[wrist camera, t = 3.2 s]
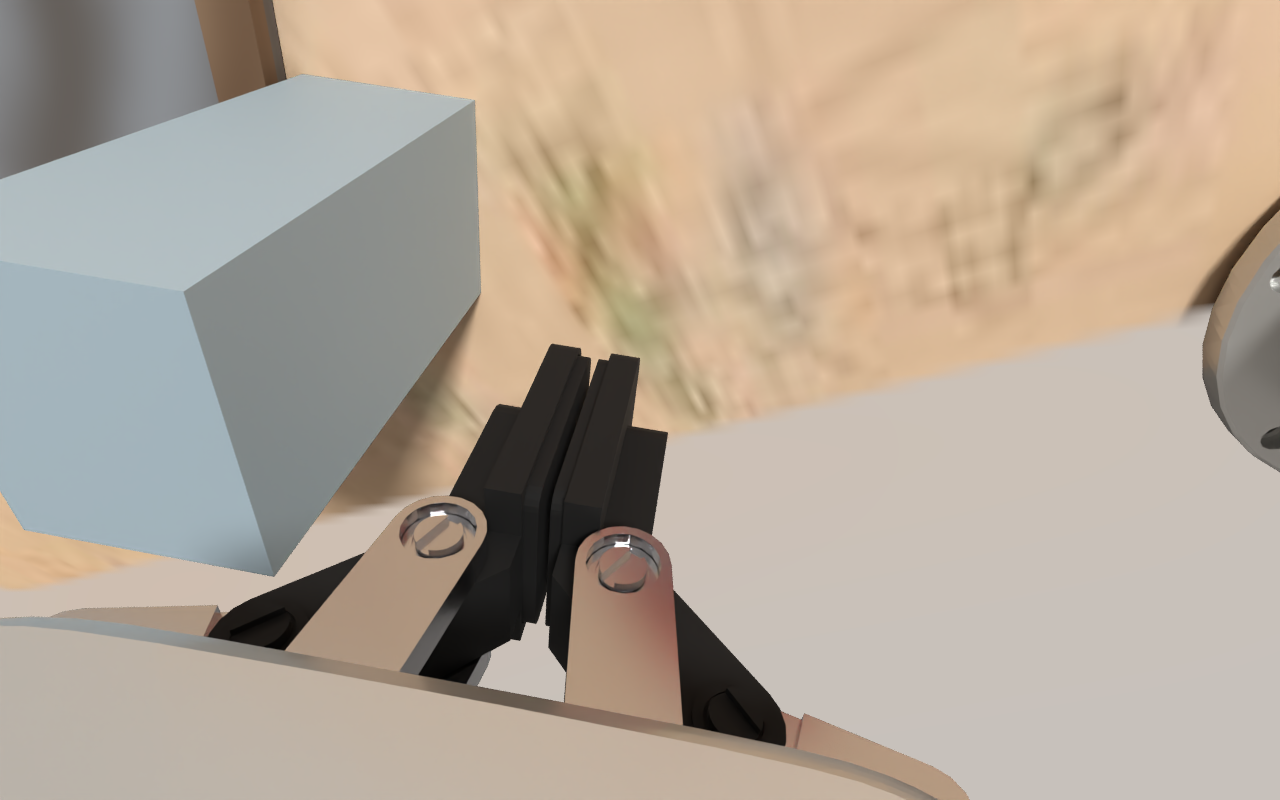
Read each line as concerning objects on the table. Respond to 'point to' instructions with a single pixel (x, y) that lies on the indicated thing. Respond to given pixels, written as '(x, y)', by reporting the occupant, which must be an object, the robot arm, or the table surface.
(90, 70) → the mat
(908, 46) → the table surface
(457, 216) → the tall block
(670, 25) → the table surface
